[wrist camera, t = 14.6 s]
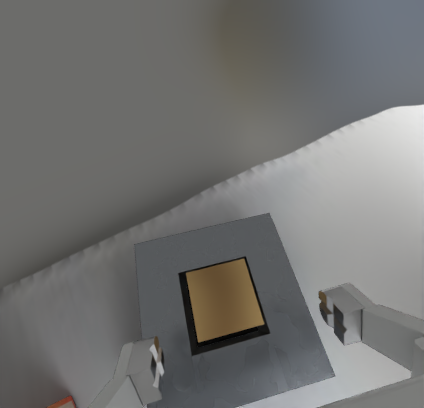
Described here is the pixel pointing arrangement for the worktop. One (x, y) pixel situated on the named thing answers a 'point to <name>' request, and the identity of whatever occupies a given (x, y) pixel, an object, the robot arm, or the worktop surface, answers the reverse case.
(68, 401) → the cracker box
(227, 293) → the square pin
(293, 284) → the grey square collar
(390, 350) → the robot arm
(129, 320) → the worktop surface
